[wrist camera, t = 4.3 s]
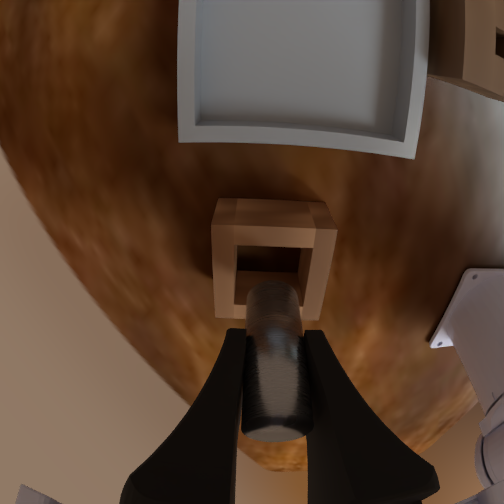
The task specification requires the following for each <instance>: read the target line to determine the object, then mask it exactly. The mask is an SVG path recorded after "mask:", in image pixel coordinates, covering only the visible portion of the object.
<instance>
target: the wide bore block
mask: <svg viewBox="0 0 504 504" xmlns="http://www.w3.org/2000/svg"><path fill="white" fill-rule="evenodd" d="M337 232H338V229H337V227H336V225H335V222H334V220H333V218H332V216H331V214H330V211H329V209H328V207H327V205H326V203H325V202H309V201H291V200H270V199H243V198H218V201H217V205H216V208H215V212H214V215H213V219H212V223H211V240H212V264H213V284H214V302H215V317H216V318H237V319H246V301H247V295H248V293H249V291H250V290H251V289H252V288H253V287H254V286H255V285H257V284H259V283H261V282H264V281H269V280H278V281H282V282H285V283H288V284H289V285H291V286H292V287H293V288H294V289H295V291H296V292H297V295H298V301H299V308H300V315H301V320H319V316H320V312H321V308H322V303H323V299H324V295H325V290H326V286H327V281H328V277H329V272H330V267H331V262H332V257H333V252H334V247H335V242H336V237H337ZM237 245H247V246H274V247H300V248H301V252H300V259H299V266H298V273H293V272H262V271H237Z"/></svg>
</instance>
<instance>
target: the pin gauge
mask: <svg viewBox="0 0 504 504" xmlns="http://www.w3.org/2000/svg"><path fill="white" fill-rule="evenodd" d="M245 329H247V332H246V358H245V366H244V375H243V397H242V422H241V431H242V433H243V434H244V435H246V436H247V437H249V438H252V439H255V440H259V441H265V442H283V441H290V440H294V439H298V438H301V437H303V436H305V435H307V434H309V433H310V432H311V431H312V430H313V428H314V420H313V410H312V401H311V393H310V384H309V376H308V368H307V360H306V353H305V345H304V338H303V330H302V322H301V315H300V308H299V301H298V295H297V292H296V291H295V289H294V288H293V287H292V286H291V285H289V284H288V283H285V282H282V281H278V280H269V281H264V282H261V283H259V284H257V285H255V286H254V287H253V288H252V289H251V290H250V291H249V293H248V295H247V301H246V325H245Z"/></svg>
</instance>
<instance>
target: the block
mask: <svg viewBox="0 0 504 504" xmlns="http://www.w3.org/2000/svg"><path fill="white" fill-rule="evenodd" d="M427 76H429V77H433V78H436V79H439V80H442V81H445V82H448V83H451V84H454V85H457V86H459V87H462V88H465V89H468V90H470V91H473V92H475V93H478V94H480V95H483V96H485V97H488V98H492V99H495V100H498V101H502V102H504V0H430V28H429V50H428V65H427Z"/></svg>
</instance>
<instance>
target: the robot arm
mask: <svg viewBox="0 0 504 504" xmlns="http://www.w3.org/2000/svg"><path fill="white" fill-rule="evenodd" d="M246 332H247V329H237V328H230V329H228V330H227V332H226V336H225V340H224V343H223V346H222V348H221V351H220V353H219V356H218V358H217V360H216V363H215V365H214V367H213V369H212V371H211V373H210V375H209V377H208V379H207V381H206V382H205V384H204V386H203V388H202V390H201V391H200V393H199V395H198V396H197V398H196V400H195V401H194V403H193V404H192V406H191V407H190V409H189V410H188V412H187V413H186V415H185V416H184V417H183V419H182V420H181V421H180V423H179V424H178V425H177V427H176V428H175V429H174V430H173V431H172V433H171V434H170V435H169V436H168V437H167V439H166V440H165V441H164V442H163V443H162V444H161V445H160V446H159V447H158V448H157V449H156V451H155V452H154V453H153V454H152V455H151V456H150V457H149V458H148V459H147V460H146V461H145V462H143V463H142V464H141V465H140V466H139V467H138V468H137V469H136V470H135V471H134V472H132V473H131V474H130V476H129V478H128V479H127V481H126V483H125V485H124V488H123V490H122V493H121V497H120V503H119V504H235V483H236V457H237V440H238V431H239V424H240V417H241V410H242V397H243V375H244V366H245V358H246ZM303 338H304V345H305V353H306V360H307V368H308V376H309V384H310V393H311V401H312V410H313V420H314V428H313V430H312V431H311V432H310V433H309V434H307V435H306V439H307V456H308V504H422V501H421V500H423V499H425V498H427V497H429V496H431V495H432V494H434V493H436V492H437V491H438V490H439V489H440V485H439V481H438V477H437V474H436V471H435V469H434V466H432V465H431V464H429V463H428V462H427V461H425V460H424V459H423V458H421V457H420V456H419V455H417V454H416V453H415V452H414V451H412V450H411V449H410V448H409V447H408V446H407V445H405V444H404V443H403V442H402V441H401V440H400V439H399V438H398V437H397V436H396V435H395V434H394V433H393V432H392V431H391V430H390V429H389V428H388V427H387V426H386V425H385V424H384V423H383V422H382V421H381V420H380V419H379V417H378V416H377V415H376V414H375V413H374V412H373V410H372V409H371V408H370V407H369V406H368V404H367V403H366V402H365V400H364V399H363V398H362V396H361V395H360V394H359V392H358V391H357V389H356V388H355V386H354V385H353V383H352V382H351V380H350V379H349V377H348V376H347V374H346V373H345V371H344V369H343V368H342V366H341V364H340V363H339V361H338V359H337V358H336V356H335V354H334V352H333V350H332V348H331V347H330V345H329V343H328V341H327V339H326V337H325V335H324V333H323V331H322V330H305V333H304V337H303ZM429 345H430V347H431V348H437V347H446V346H453V345H454V347H455V349H456V351H457V353H458V355H459V357H460V360H461V362H462V364H463V366H464V368H465V370H466V372H467V374H468V377H469V379H470V381H471V383H472V386H473V388H474V390H475V392H476V395H477V397H478V400H479V402H480V404H481V407H482V409H483V412H484V414H485V418H484V419H483V420H482V421H481V422H479V426H480V429H481V431H482V433H481V435H480V436H479V438H478V440H477V443H476V448H475V469H476V473H477V476H478V479H479V481H480V483H481V484H482V486H483V487H484V490H482V491H481V492H479V493H478V494H476V495H474V496H472V497H469V498H467V499H465V500H463V501H460V502H458V503H455V504H504V269H481V268H470V269H467V270H466V271H465V272H464V274H463V276H462V278H461V281H460V283H459V285H458V287H457V289H456V292H455V294H454V296H453V298H452V300H451V302H450V304H449V306H448V308H447V310H446V312H445V314H444V316H443V318H442V320H441V322H440V324H439V325H438V327H437V329H436V331H435V333H434V335H433V336H432V338H431V340H430V342H429ZM16 504H62V503H59V502H57V501H56V500H54V499H52V498H50V497H48V496H46V495H44V494H42V493H40V492H38V491H36V490H33V489H31V488H29V487H27V486H25V485H23V484H21V486H20V489H19V492H18V496H17V500H16Z"/></svg>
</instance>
